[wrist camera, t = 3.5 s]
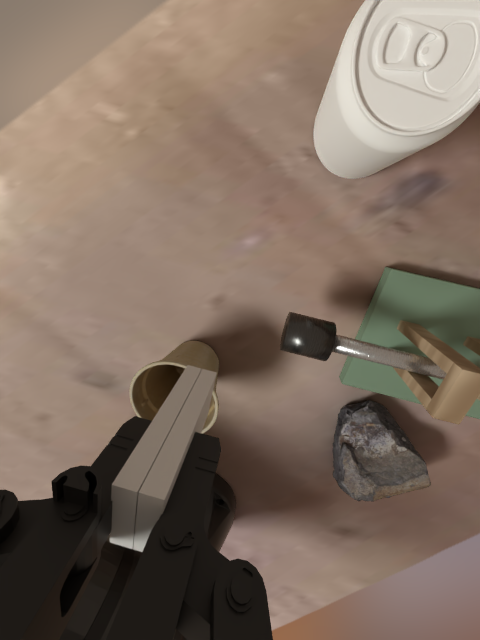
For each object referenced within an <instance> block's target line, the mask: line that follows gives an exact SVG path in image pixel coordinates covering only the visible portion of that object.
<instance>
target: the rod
mask: <svg viewBox="0 0 480 640" xmlns="http://www.w3.org/2000/svg"><path fill="white" fill-rule="evenodd" d="M280 350H282V351H286V352H290V353H294V354H298V355H302V356H306V357H310V358H314V359H318V360H322V361H326V360H327V359H328V358H329V356H330V355H331V352H335V353H339V354H343V355H347V356H351V357H355V358H359V359H363V360H367V361H371V362H375V363H379V364H383V365H387V366H391V367H395V368H399V369H403V370H407V371H411V372H415V373H419V374H423V375H427V376H431V377H435V378H439V379H444V378H445V376H446V374H447V373H446V372H444V371H443V370H442V369H441V368H440V367H439V366H438V365H437V364H436V363H434V362H433V361H432V360H431V359H430V358H429V357H425V356H421V355H417V354H412V353H408V352H404V351H400V350H396V349H392V348H388V347H384V346H380V345H376V344H372V343H368V342H364V341H360V340H356V339H352V338H348V337H344V336H340V335H336V325H335V323H333V322H329V321H325V320H321V319H317V318H313V317H309V316H305V315H301V314H296V313H292V312H289V314H288V316H287V319H286V322H285V325H284V329H283V333H282V338H281V344H280Z"/></svg>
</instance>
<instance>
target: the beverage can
mask: <svg viewBox="0 0 480 640" xmlns="http://www.w3.org/2000/svg"><path fill="white" fill-rule="evenodd" d="M479 103H480V0H365V1H364V3H363V4H362V6H361V7H360V8H359V10H358V12H357V13H356V15H355V16H354V18H353V20H352V22H351V24H350V26H349V28H348V30H347V32H346V35H345V37H344V40H343V42H342V45H341V48H340V51H339V54H338V56H337V59H336V62H335V65H334V67H333V70H332V73H331V76H330V79H329V81H328V84H327V87H326V90H325V93H324V95H323V98H322V101H321V104H320V107H319V109H318V112H317V115H316V119H315V124H314V144H315V149H316V152H317V155H318V157H319V159H320V161H321V162H322V164H323V165H324V166H325V167H326V168H327V169H328V170H329V171H330V172H332V173H333V174H335V175H337V176H340V177H343V178H348V179H358V178H364V177H367V176H370V175H372V174H375V173H377V172H379V171H381V170H383V169H385V168H386V167H388V166H390V165H392V164H394V163H396V162H398V161H400V160H402V159H404V158H406V157H408V156H410V155H412V154H414V153H416V152H418V151H420V150H422V149H424V148H426V147H428V146H430V145H432V144H434V143H436V142H437V141H439V140H441V139H442V138H444V137H445V136H447V135H448V134H450V133H451V132H452V131H454V130H455V129H456V128H457V127H458V126H459V125H460V124H461V123H463V122H464V121H465V120H466V118H467V117H468V116H469V115H470V114H471V113H472V112H473V111H474V109H475V108H476V107H477V106H478V104H479Z"/></svg>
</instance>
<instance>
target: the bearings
mask: <svg viewBox="0 0 480 640" xmlns="http://www.w3.org/2000/svg"><path fill="white" fill-rule="evenodd" d="M397 329H398V330H399V331H400V332H401V333H402V334H403V335H404V336H405V337H407V338H408V339H409V340H410V341H411V342H412V343H413V344H414V345H415V346H417V347H418V348H419V349H420V350H421V351H422V352H423V353H424V354H426V355H427V356H428V357H429V358H430V359H431V360H432V361H433V362H434V363H436V364H437V365H438V366H439V367H440V368H441V369H442V370H443V371H444V372H446V373H447V374H446V376H445V378H444V379H443V381H442V383H441V384H440V386H438V385H437V384H436V383H435V382H434V381H433V380H432V379H431V378H430V377H429V376H427V375H423V374H419V373H415V372H411V371H407V370H403V369H399V368H395V367H393V368H394V370H395V371H396V372H397V373H398V375H399V376H400V377H401V378H402V380H403V381H404V382H405V383H406V385H407V386H408V387H409V388H410V390H411V391H412V392H413V394H414V395H415V396H416V397H417V399H418V400H419V401H420V402H421V404H422V405H423V406H424V407H425V409H426V410H427V411H428V413H429V414H430V415H431V416H432V418H436V419H440V420H443V421H447V422H451V423H455V424H460V422H461V421H462V419H463V418H464V417H465V415H466V414H467V412H468V411H469V409H470V408H471V406H472V405H473V403H474V402H475V400H476V399H478V400H480V368H479V367H477V366H476V365H475V364H473V363H472V362H471V361H469V360H468V359H466V358H465V357H464V356H462V355H461V354H459V353H458V352H457V351H455V350H454V349H453V348H451V347H450V346H448V345H447V344H446V343H444V342H443V341H441V340H440V339H439V338H437V337H436V336H435V335H433V334H432V333H430V332H429V331H428V330H426V329H425V328H424V327H422V326H421V325H419V324H415V323H411V322H407V321H402V320H400V322H399V324H398V326H397ZM463 345H464V346H466V347H467V348H469V349H470V350H472V351H473V352H475V353H476V354H478V355H479V356H480V339H477V338H473V337H469V336H467V338H466V340H465V342H464V343H463Z"/></svg>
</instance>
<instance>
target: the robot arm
mask: <svg viewBox="0 0 480 640" xmlns="http://www.w3.org/2000/svg"><path fill="white" fill-rule="evenodd" d="M216 374H217V372H213V371H209V370H205V369H201V368H197V367H194V366H190V365H187V367H186V368H185V370H184V372H183V373H182V375H181V376H180V378H179V379H178V381H177V383H176V384H175V386H174V387H173V389H172V390H171V392H170V394H169V395H168V397H167V398H166V400H165V401H164V403H163V405H162V406H161V408H160V409H159V411H158V413H157V414H156V416H155V417H154V419H153V420H152V421H151V420H147V419H144V418H140V417H137V416H135V417H133V418H132V419H130V420H129V421H127V422H125V423H124V424H123V425H122V426H121V428H120V429H119V430H118V432H117V433H116V434H115V437H113V438H112V439H111V441H110V442H109V444H108V446H106V447H105V449H104V450H103V451H102V452H101V454H100V455H99V456H98V458H97V459H96V460H95V462H94V463H93V464H92V466H91V467H90V466H78V467H73V468H70V469H68V470H66V471H64V472H62V473H60V474H59V475H58V476H57V477H56V478H55V479H54V480H52V491H53V498H49V499H43V500H28V501H18V499H17V497H16V496H15V494H14V493H13V492H10V491H7V490H0V640H273V638H272V631H271V623H270V616H269V609H268V601H267V594H266V589H265V585H264V582H263V578H262V577H261V575H260V573H259V572H258V570H257V569H256V567H254V566H253V565H252V564H251V563H249V562H248V561H245V560H241V559H235V560H231V561H229V560H228V559H227V558H226V557H224V556H223V555H222V554H221V553H219V551H220V549H221V547H222V545H223V543H224V541H225V539H226V537H227V535H228V533H229V530H230V528H231V526H232V524H233V520H234V514H235V508H236V500H235V496H234V493H233V491H232V489H231V488H230V486H229V485H228V484H227V483H226V482H225V481H224V480H223V479H222V478H221V477H220V476H218V475H217V474H215V472H216V468H217V464H218V460H219V456H220V452H221V447H220V442H219V438H216V437H212V436H208V435H205V434H201V432H202V430H203V427H204V424H205V421H206V419H207V416H208V412H209V408H210V403H211V398H212V393H213V388H214V384H215V379H216ZM109 534H110V535H109Z"/></svg>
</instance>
